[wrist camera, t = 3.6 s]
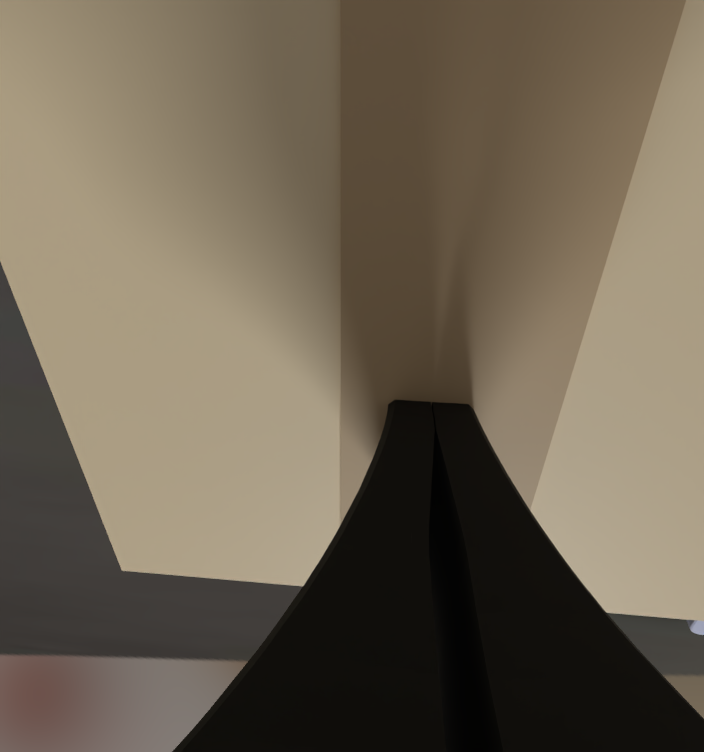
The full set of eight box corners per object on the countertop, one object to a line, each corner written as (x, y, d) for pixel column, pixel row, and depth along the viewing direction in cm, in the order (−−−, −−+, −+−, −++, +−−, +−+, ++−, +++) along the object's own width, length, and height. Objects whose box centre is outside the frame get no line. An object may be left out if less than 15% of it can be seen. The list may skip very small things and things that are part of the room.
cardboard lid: (1633, -641, 4) (1842, -746, 3) (727, 599, 13) (741, 628, 12) (-265, -551, 5) (-357, -622, 4) (132, 548, 14) (120, 574, 13)
